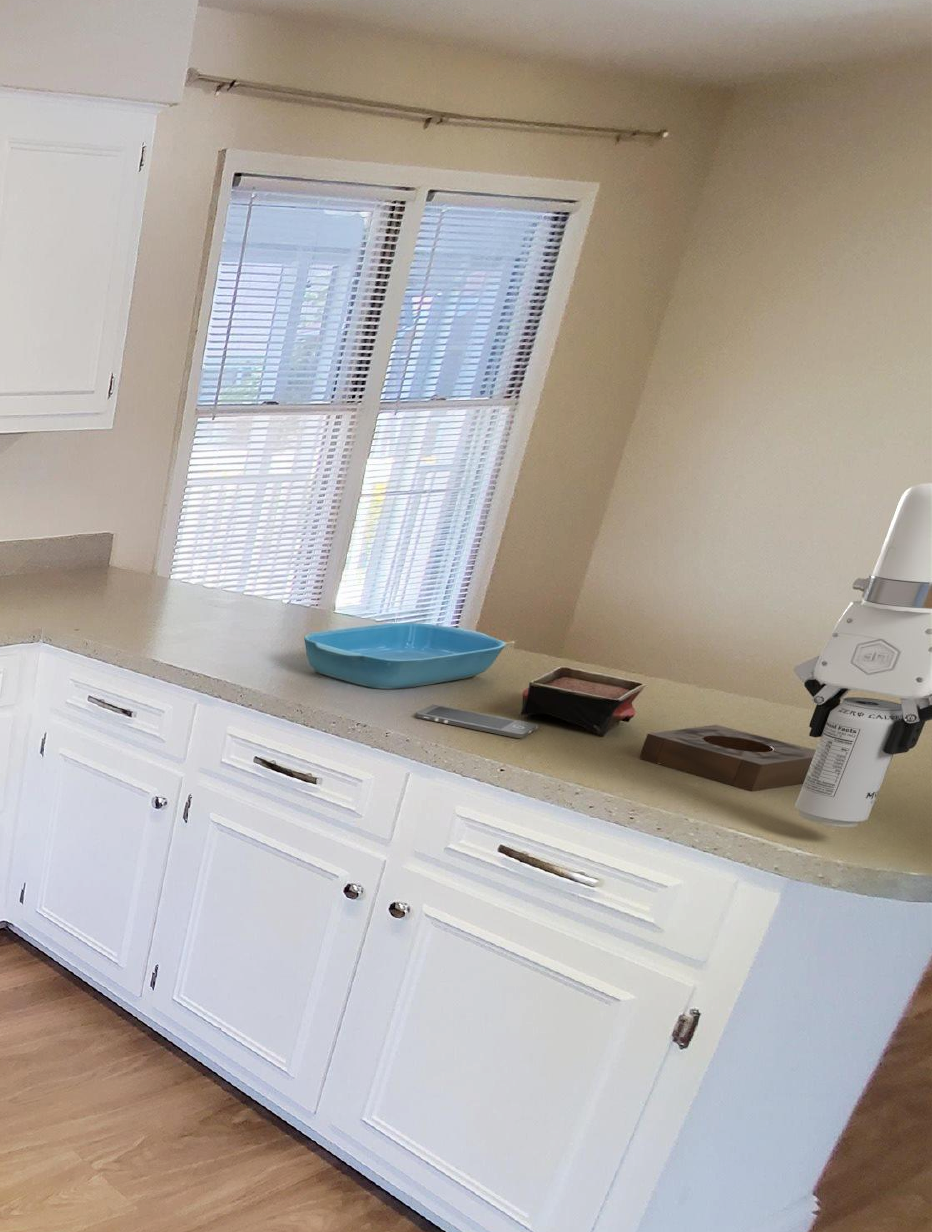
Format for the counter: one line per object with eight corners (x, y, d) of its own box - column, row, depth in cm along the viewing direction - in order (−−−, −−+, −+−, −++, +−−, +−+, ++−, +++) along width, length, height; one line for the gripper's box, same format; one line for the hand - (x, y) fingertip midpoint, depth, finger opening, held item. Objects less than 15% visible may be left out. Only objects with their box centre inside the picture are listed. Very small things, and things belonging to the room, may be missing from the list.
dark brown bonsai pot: (644, 736, 169) (661, 676, 167) (605, 740, 160) (623, 677, 158) (537, 720, 181) (552, 664, 179) (495, 723, 172) (510, 664, 170)
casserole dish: (377, 699, 185) (386, 660, 182) (273, 669, 205) (280, 634, 202) (522, 678, 195) (532, 641, 192) (409, 651, 215) (417, 618, 212)
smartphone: (412, 716, 175) (413, 712, 174) (431, 707, 179) (432, 703, 179) (520, 738, 163) (522, 734, 163) (537, 728, 168) (539, 724, 167)
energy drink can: (874, 832, 122) (923, 712, 117) (803, 823, 125) (847, 706, 120) (852, 815, 127) (898, 699, 122) (784, 807, 130) (826, 693, 124)
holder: (822, 780, 145) (833, 754, 144) (751, 791, 142) (762, 764, 140) (706, 749, 158) (715, 724, 156) (638, 758, 155) (647, 733, 153)
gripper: (795, 585, 123) (746, 727, 129) (1003, 610, 107) (936, 770, 114) (839, 581, 125) (788, 721, 131) (1050, 605, 109) (981, 763, 115)
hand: (857, 742), depth 122 cm, fingers closed on energy drink can, 6 cm apart
